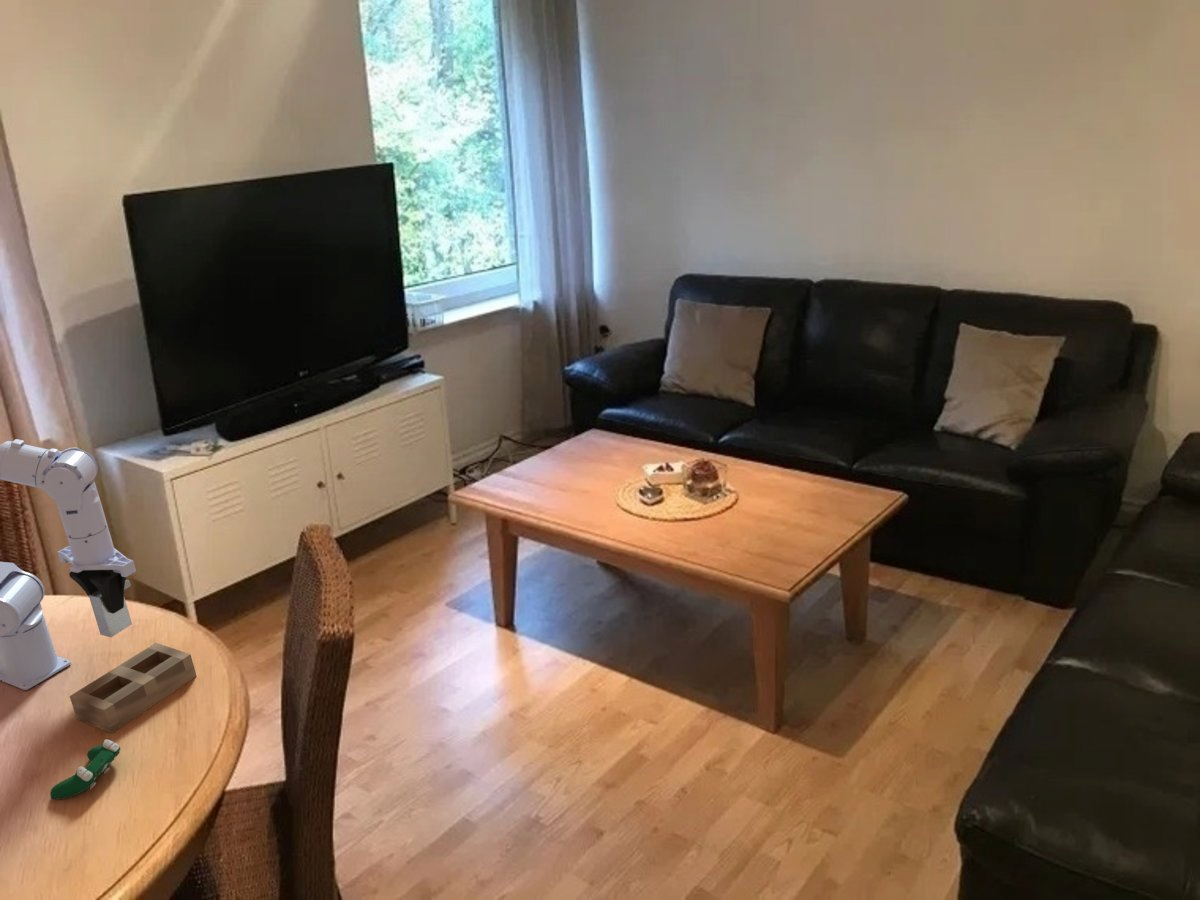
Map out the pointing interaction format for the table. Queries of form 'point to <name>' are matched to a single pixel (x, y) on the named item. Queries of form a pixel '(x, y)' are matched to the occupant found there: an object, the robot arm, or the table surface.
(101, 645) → the table surface
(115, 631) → the white rectangular pillar
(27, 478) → the robot arm
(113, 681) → the tan divided tray
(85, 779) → the green elongated piece
